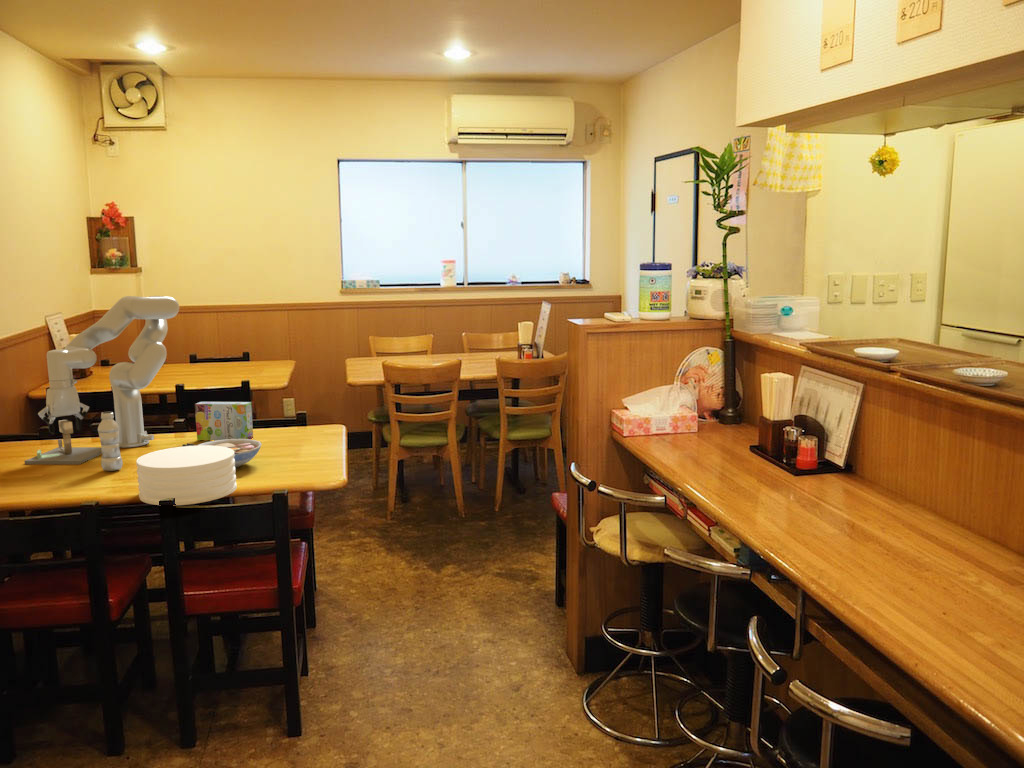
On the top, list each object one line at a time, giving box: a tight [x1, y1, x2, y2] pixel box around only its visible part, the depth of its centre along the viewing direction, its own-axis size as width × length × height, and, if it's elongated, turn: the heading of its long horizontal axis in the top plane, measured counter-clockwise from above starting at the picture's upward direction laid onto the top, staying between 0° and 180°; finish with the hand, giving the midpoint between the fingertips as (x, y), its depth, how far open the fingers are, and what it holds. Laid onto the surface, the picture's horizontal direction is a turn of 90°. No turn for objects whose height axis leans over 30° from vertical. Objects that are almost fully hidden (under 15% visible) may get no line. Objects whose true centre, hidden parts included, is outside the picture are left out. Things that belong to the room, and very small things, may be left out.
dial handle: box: [57, 419, 74, 454], centre depth 304 cm, size 11×2×12 cm, turn 47°
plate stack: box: [135, 444, 238, 506], centre depth 258 cm, size 28×28×12 cm
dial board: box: [23, 446, 102, 465], centre depth 303 cm, size 20×20×3 cm
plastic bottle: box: [97, 411, 124, 472], centre depth 283 cm, size 6×7×20 cm
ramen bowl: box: [181, 439, 262, 469], centre depth 287 cm, size 25×23×8 cm
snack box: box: [194, 401, 254, 441], centre depth 326 cm, size 21×6×15 cm, turn 82°
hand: (66, 431), depth 302 cm, fingers open, 8 cm apart
